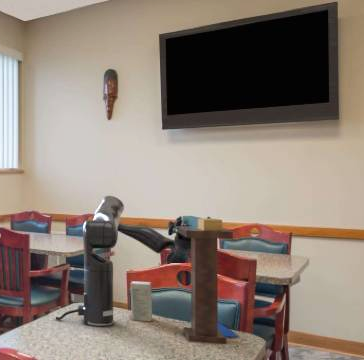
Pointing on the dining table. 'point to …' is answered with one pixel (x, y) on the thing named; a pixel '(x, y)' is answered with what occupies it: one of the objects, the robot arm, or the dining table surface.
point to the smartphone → (226, 331)
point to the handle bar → (203, 223)
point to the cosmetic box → (141, 301)
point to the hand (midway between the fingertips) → (194, 219)
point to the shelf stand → (204, 283)
